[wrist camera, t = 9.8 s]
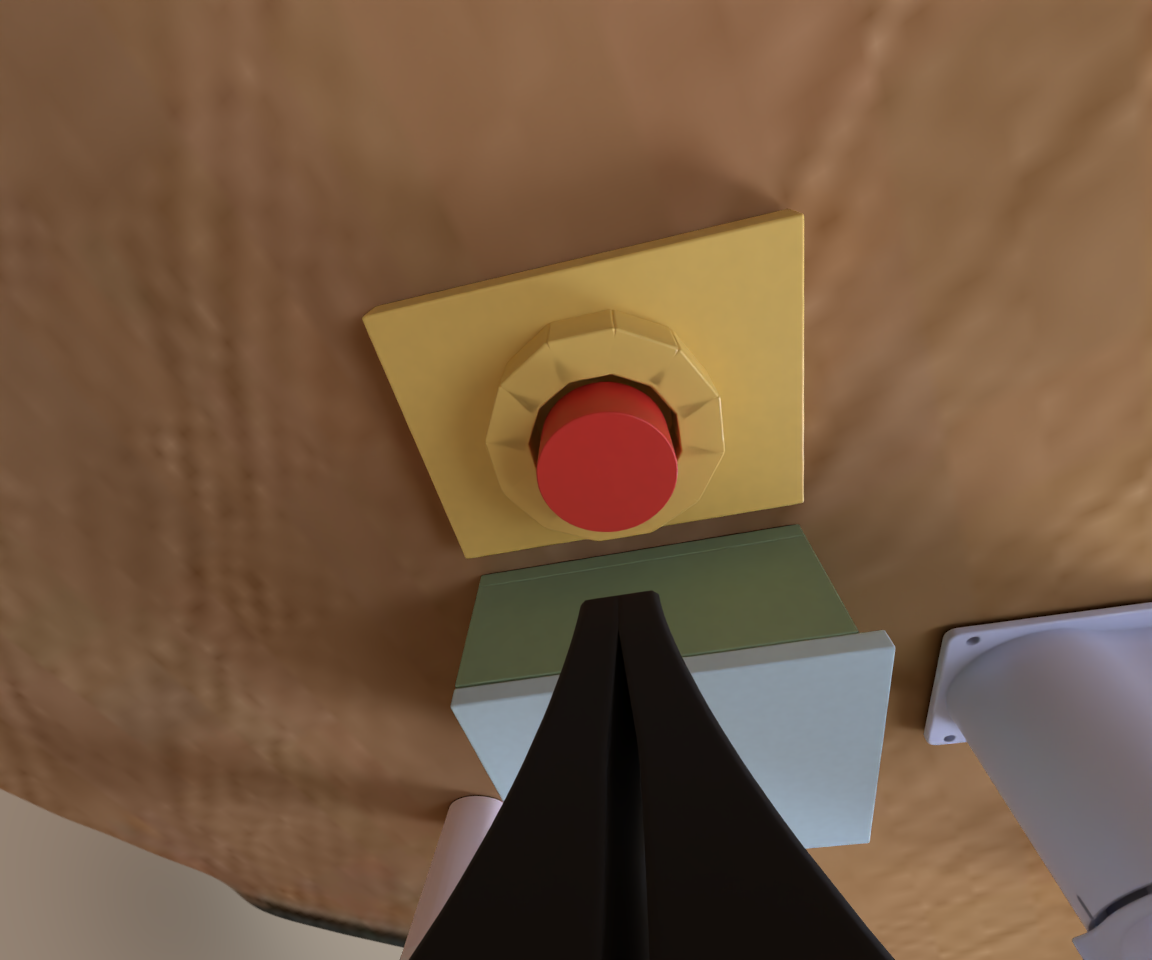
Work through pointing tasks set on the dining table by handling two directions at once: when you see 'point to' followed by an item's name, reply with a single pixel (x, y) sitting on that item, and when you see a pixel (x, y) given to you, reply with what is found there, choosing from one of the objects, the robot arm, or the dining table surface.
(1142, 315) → the dining table surface
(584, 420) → the button
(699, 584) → the panel
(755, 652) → the pale blue lid
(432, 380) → the yellow button base
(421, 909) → the smoothie
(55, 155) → the dining table surface
